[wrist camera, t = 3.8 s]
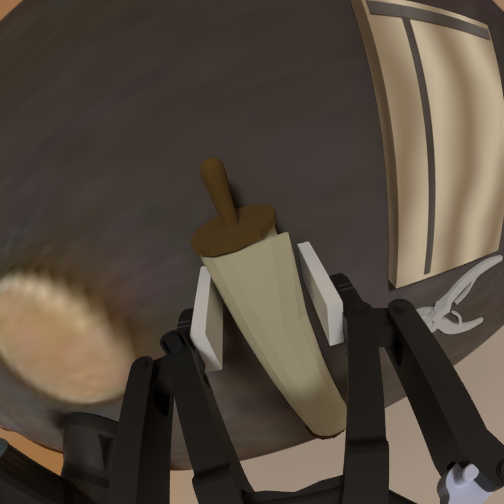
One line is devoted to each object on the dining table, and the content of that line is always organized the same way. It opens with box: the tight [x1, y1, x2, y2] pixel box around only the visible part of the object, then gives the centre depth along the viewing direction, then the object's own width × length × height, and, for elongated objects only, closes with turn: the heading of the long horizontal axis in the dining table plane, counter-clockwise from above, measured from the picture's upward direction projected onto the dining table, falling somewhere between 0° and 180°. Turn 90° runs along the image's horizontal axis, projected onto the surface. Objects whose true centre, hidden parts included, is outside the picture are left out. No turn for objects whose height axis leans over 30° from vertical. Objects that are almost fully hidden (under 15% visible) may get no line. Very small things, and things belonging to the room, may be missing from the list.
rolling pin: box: [189, 157, 347, 440], centre depth 21 cm, size 32×6×5 cm, turn 22°
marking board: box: [350, 0, 504, 288], centre depth 15 cm, size 13×21×2 cm, turn 13°
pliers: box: [416, 255, 503, 334], centre depth 23 cm, size 10×2×15 cm
